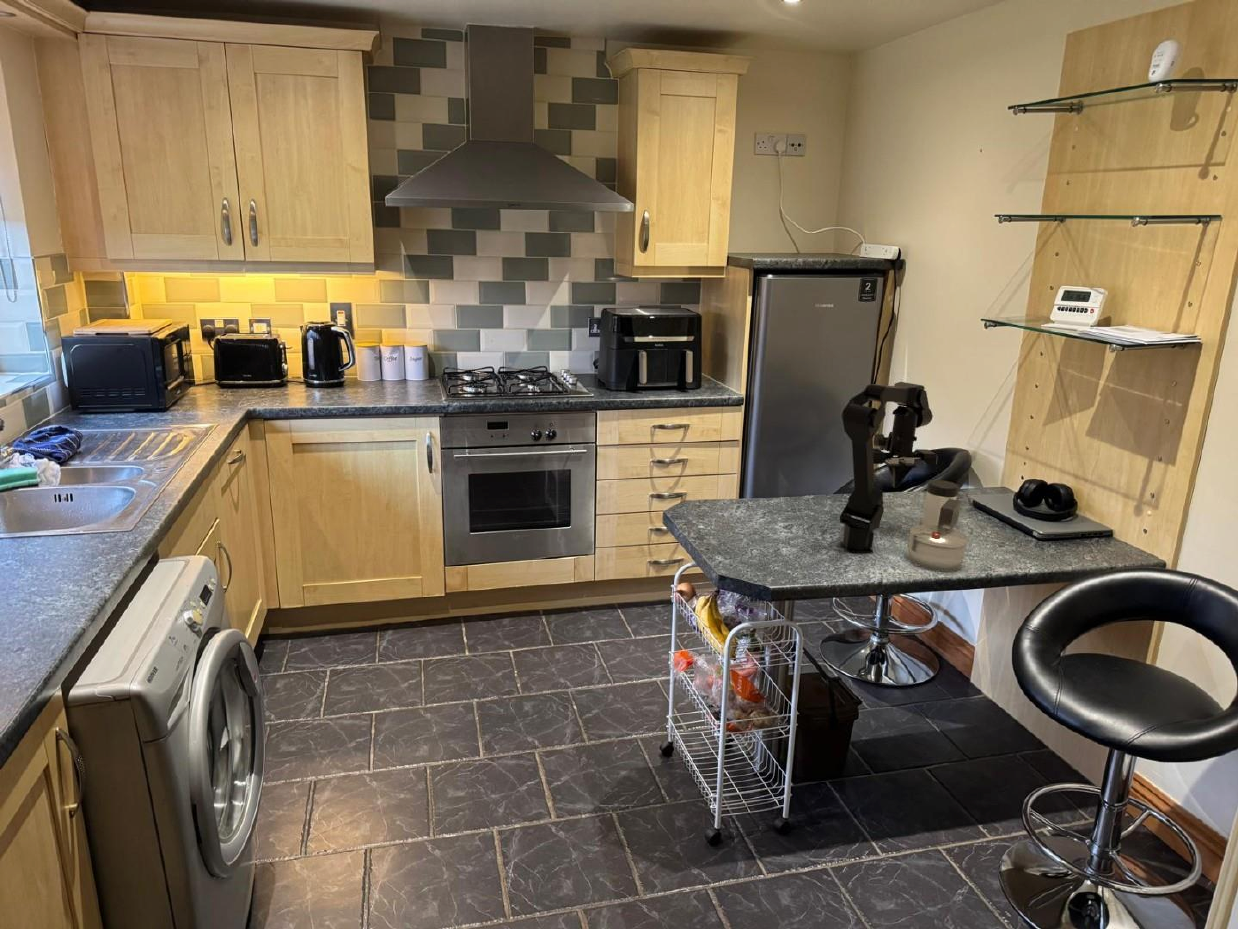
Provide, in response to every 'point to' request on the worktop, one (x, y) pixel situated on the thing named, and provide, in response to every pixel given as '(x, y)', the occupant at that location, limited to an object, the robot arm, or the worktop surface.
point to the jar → (937, 499)
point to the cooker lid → (942, 529)
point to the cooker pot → (935, 556)
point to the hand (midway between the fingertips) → (895, 487)
